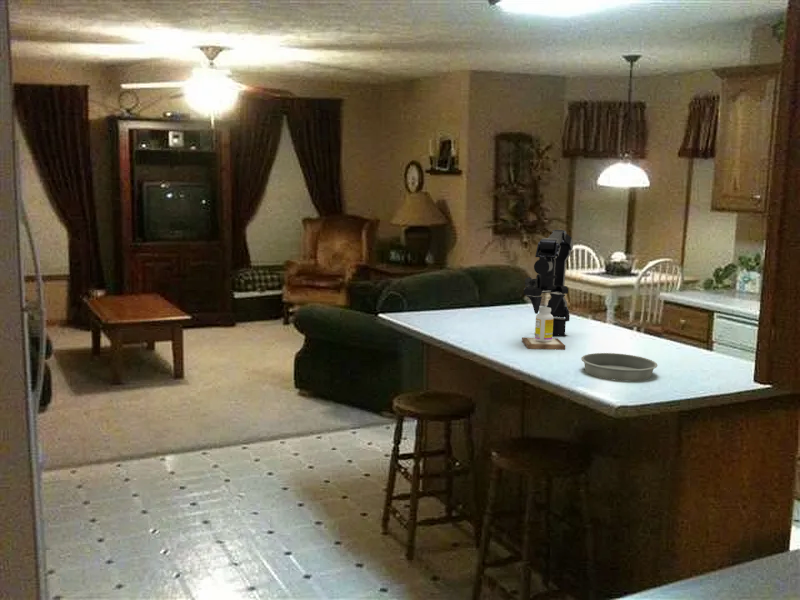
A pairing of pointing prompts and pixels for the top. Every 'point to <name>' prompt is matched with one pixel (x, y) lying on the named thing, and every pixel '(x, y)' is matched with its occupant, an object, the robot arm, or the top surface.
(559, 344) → the brown square tray
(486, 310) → the top surface
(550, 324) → the supplement bottle
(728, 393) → the top surface
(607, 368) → the cake pan
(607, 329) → the top surface
